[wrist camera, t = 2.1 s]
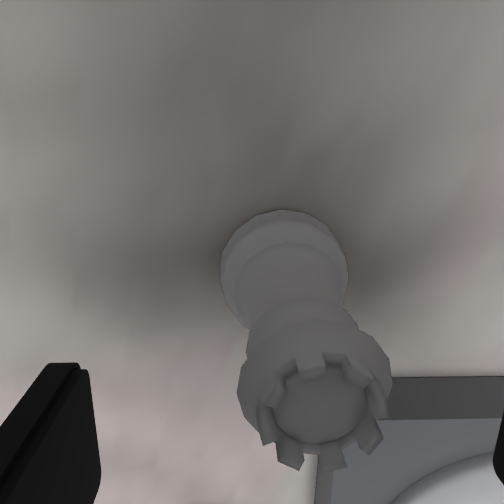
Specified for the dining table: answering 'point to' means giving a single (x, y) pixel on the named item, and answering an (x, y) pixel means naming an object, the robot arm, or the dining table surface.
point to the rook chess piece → (302, 342)
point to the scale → (426, 447)
